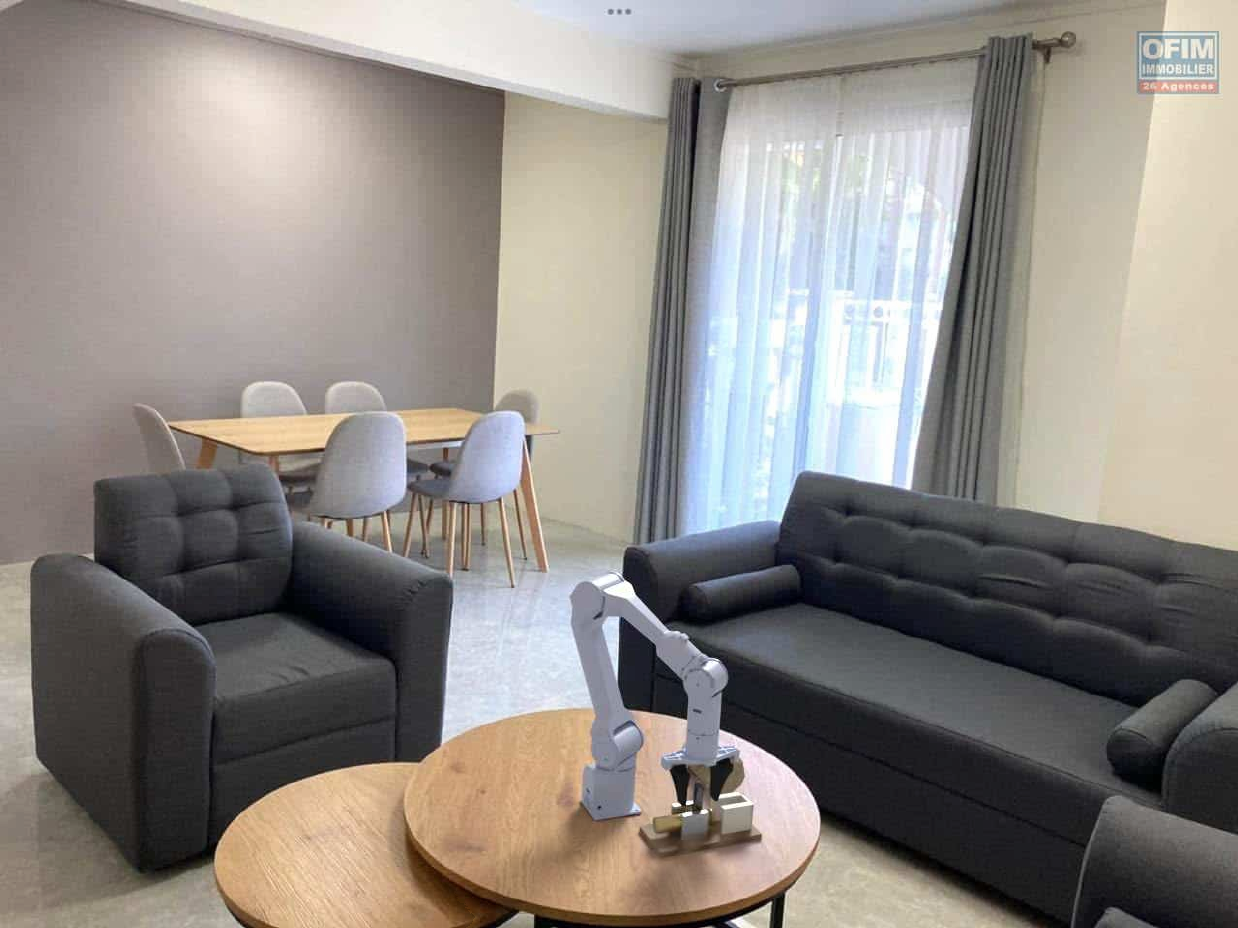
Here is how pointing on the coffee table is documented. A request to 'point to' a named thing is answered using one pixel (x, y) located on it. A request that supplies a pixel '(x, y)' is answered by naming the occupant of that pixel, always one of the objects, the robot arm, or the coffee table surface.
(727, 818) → the socket block
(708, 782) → the sculpture
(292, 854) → the coffee table surface
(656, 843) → the guide board
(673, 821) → the brass bolt
